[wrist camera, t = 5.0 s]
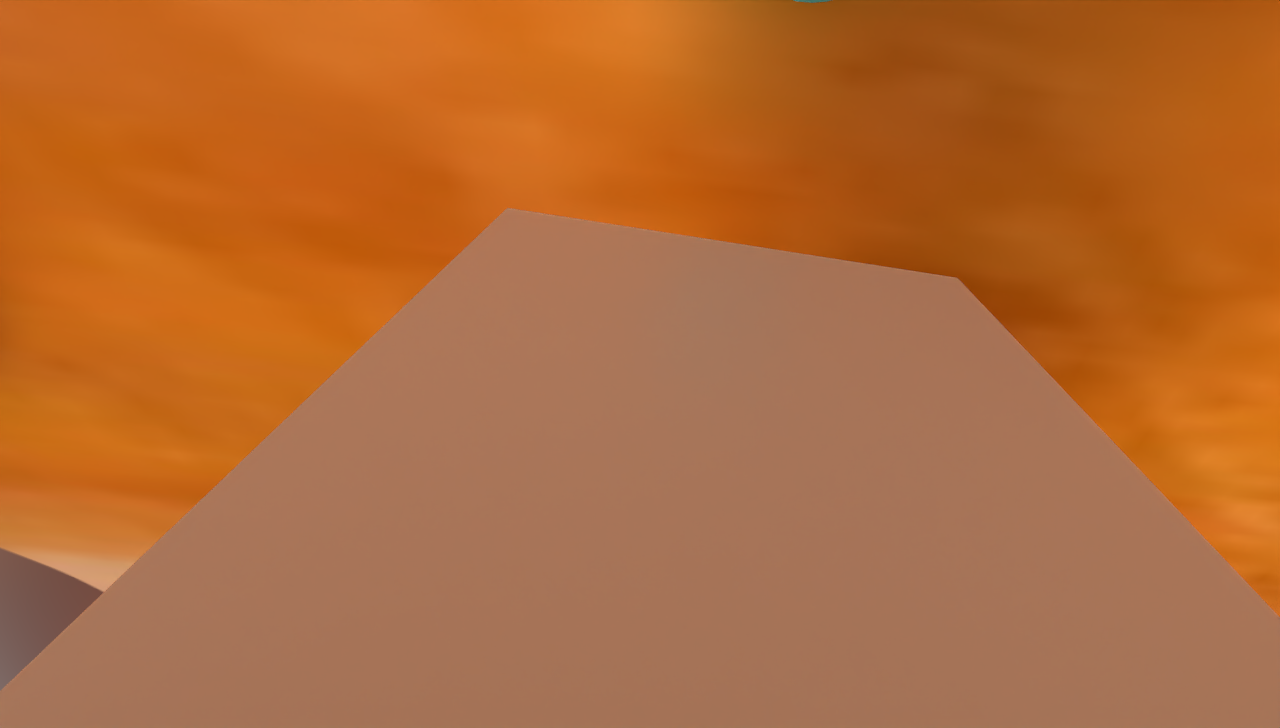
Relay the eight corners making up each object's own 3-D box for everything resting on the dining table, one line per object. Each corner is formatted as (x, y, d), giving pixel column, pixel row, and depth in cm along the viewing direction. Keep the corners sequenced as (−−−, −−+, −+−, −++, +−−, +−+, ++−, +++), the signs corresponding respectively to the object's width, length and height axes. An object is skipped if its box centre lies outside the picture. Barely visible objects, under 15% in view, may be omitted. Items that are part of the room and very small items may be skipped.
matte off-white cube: (816, 558, 13) (951, 1238, 6) (514, 507, 13) (278, 1103, 6) (957, 277, 9) (2149, 1534, 2) (507, 208, 9) (-358, 1031, 2)
